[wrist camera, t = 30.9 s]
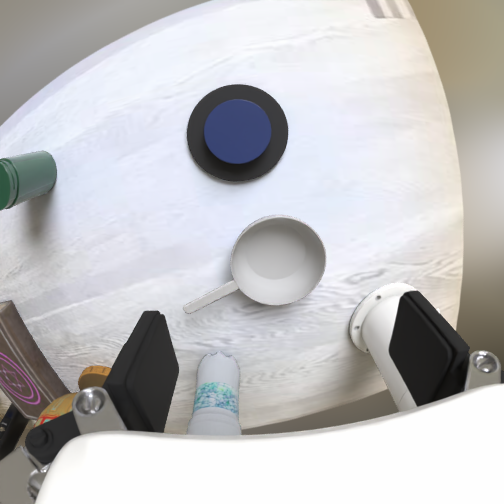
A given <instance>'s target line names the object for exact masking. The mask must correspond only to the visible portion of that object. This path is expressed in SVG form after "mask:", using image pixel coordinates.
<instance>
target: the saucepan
mask: <svg viewBox="0 0 504 504" xmlns="http://www.w3.org/2000/svg"><path fill="white" fill-rule="evenodd" d="M230 265H231V273H232V276H233V279H234V280H232V281H230V282H228V283H226V284H224V285H222V286H220V287H219V288H217V289H215V290H213V291H211V292H209V293H207V294H205V295H203V296H201V297H199V298H197V299H195V300H194V301H192V302H190V303H188V304H186V305H184V307H183V309H184V311H185V312H186V313H187V314H191V313H193V312H195V311H197V310H199V309H201V308H203V307H205V306H207V305H209V304H211V303H213V302H215V301H217V300H218V299H220V298H222V297H224V296H226V295H228V294H230V293H232V292H234V291H236V290H238V289H240V290H241V291H242V292H243V293H244V294H245V295H246V296H248V297H249V298H251V299H252V300H254V301H257V302H259V303H262V304H267V305H285V304H290V303H293V302H296V301H298V300H300V299H302V298H304V297H305V296H307V295H308V294H309V293H310V292H312V291H313V289H314V288H315V287H316V286H317V285H318V283H319V282H320V280H321V278H322V276H323V274H324V271H325V267H326V252H325V248H324V245H323V242H322V240H321V239H320V237H319V235H318V234H317V233H316V232H315V231H314V230H313V229H312V228H311V227H310V226H309V225H308V224H306V223H305V222H303V221H301V220H299V219H297V218H295V217H291V216H288V215H271V216H266V217H263V218H261V219H258V220H256V221H254V222H253V223H251V224H250V225H249V226H247V227H246V228H245V229H244V230H243V231H242V233H241V234H240V235H239V237H238V239H237V241H236V243H235V245H234V247H233V251H232V254H231V262H230Z"/></svg>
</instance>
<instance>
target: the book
mask: <svg viewBox="0 0 504 504" xmlns="http://www.w3.org/2000/svg"><path fill="white" fill-rule="evenodd" d="M0 388H1V390H2V391H3V392H4V393H5V395H6V396H7V397H8V398H9V399H10V401H11V402H12V403H13V404H14V405H15V407H16V408H17V409H18V410H19V411H20V412H21V413H22V415H23V416H24V417H25V418H28V419H32V420H37V419H38V418H39V416H40V414H41V413H42V412H43V411H44V410H45V409H46V408H47V407H48V406H49V405H50V404H51V403H52V402H53V401H54V400H56V399H57V398H59V397H61V396H63V395H66V394H70V392H69V390H68V389H67V388H66V387H65V385H64V384H63V383H62V381H61V380H60V379H59V377H58V376H57V374H56V373H55V372H54V370H53V369H52V367H51V366H50V364H49V363H48V362H47V360H46V359H45V357H44V356H43V354H42V352H41V351H40V349H39V348H38V346H37V345H36V343H35V341H34V340H33V338H32V336H31V335H30V333H29V331H28V330H27V328H26V326H25V324H24V323H23V321H22V319H21V317H20V315H19V313H18V312H17V310H16V308H15V306H14V304H13V302H12V300H10V301H5V302H1V303H0Z"/></svg>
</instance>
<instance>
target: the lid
mask: <svg viewBox="0 0 504 504" xmlns="http://www.w3.org/2000/svg"><path fill="white" fill-rule="evenodd" d="M204 137H205V142H206V144H207V146H208V148H209V149H210V151H211V153H213V154H214V155H215V156H216V157H218V158H219V159H221V160H223V161H225V162H228V163H234V164H241V163H248V162H250V161H252V160H254V159H256V158H257V157H259V156H260V155H261V154H262V153H263V152H264V151H265V149H266V148H267V146H268V144H269V142H270V138H271V124H270V121H269V119H268V116H267V115H266V113H265V111H263V110H262V109H261V108H260V107H259V106H258V105H256V104H255V103H252V102H250V101H247V100H242V99H241V100H240V99H236V100H229V101H226V102H224V103H222V104H220V105H218V106H217V107H216V108H215V109H214V110H213V111H212V112H211V113H210V114H209V116H208V118H207V120H206V122H205V126H204Z"/></svg>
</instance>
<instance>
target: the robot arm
mask: <svg viewBox="0 0 504 504" xmlns="http://www.w3.org/2000/svg"><path fill="white" fill-rule="evenodd" d="M350 336H351V339H352V341H353V343H354V344H355V346H356V347H357V348H358V349H360V350H361V351H363V352H366V353H371V355H372V357H373V359H374V361H375V363H376V365H377V367H378V369H379V371H380V373H381V375H382V377H383V379H384V381H385V383H386V385H387V387H388V389H389V391H390V393H391V395H392V398H393V400H394V402H395V404H396V406H397V408H398V410H399V412H398V413H395V414H391V415H387V416H383V417H379V418H374V419H370V420H365V421H361V422H356V423H351V424H345V425H340V426H334V427H327V428H321V429H314V430H306V431H298V432H287V433H275V434H261V435H186V434H169V433H163V432H164V428H165V424H166V420H167V416H168V412H169V408H170V404H171V400H172V396H173V393H174V389H175V385H176V381H177V378H178V374H179V366H178V362H177V359H176V355H175V352H174V348H173V345H172V341H171V338H170V334H169V330H168V327H167V323H166V319H165V316H164V315H163V314H160V312H159V311H144V312H143V314H142V315H141V317H140V319H139V321H138V323H137V324H136V326H135V328H134V330H133V332H132V333H131V335H130V337H129V339H128V341H127V343H125V344H124V346H123V348H122V349H121V351H120V353H119V355H118V357H117V359H116V361H115V363H114V364H113V366H112V368H111V370H110V372H109V374H108V376H107V378H106V380H105V382H104V384H103V386H102V388H100V387H88V388H85V389H83V390H81V391H79V392H78V393H77V394H76V395H75V397H74V398H73V401H72V411H70V412H68V413H66V414H63V415H61V416H59V417H57V418H54V419H52V420H50V421H48V422H45V423H43V424H41V425H38V426H36V427H34V428H33V429H32V430H31V431H30V432H29V433H28V435H27V437H26V441H25V445H26V446H25V447H24V448H23V447H22V446H19V447H18V448H16V449H15V450H14V451H12V452H11V453H10V454H9V455H7V456H6V457H5V458H3V459H2V460H1V461H0V504H504V371H502V370H501V365H500V361H499V360H498V358H497V357H496V356H495V355H493V354H492V353H490V352H488V351H483V350H479V351H476V352H473V353H472V354H471V355H470V354H469V353H468V351H469V349H470V347H469V346H468V345H467V344H466V342H465V341H464V340H463V339H462V338H461V337H460V336H459V335H458V333H457V332H456V331H455V330H454V329H453V328H452V326H451V325H450V324H449V323H448V322H447V321H446V320H445V319H444V318H443V316H442V315H441V314H440V310H439V309H438V308H437V309H435V308H434V307H433V306H432V305H431V304H430V303H429V301H428V300H427V299H426V298H425V297H424V296H423V295H422V294H421V293H420V292H419V291H417V290H416V289H415V288H414V287H412V286H410V285H408V284H405V283H392V284H388V285H385V286H382V287H380V288H378V289H376V290H375V291H373V292H372V293H371V294H369V295H368V296H367V297H366V298H365V299H364V300H363V301H362V302H361V303H360V304H359V306H358V307H357V309H356V310H355V312H354V314H353V316H352V319H351V322H350Z"/></svg>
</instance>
